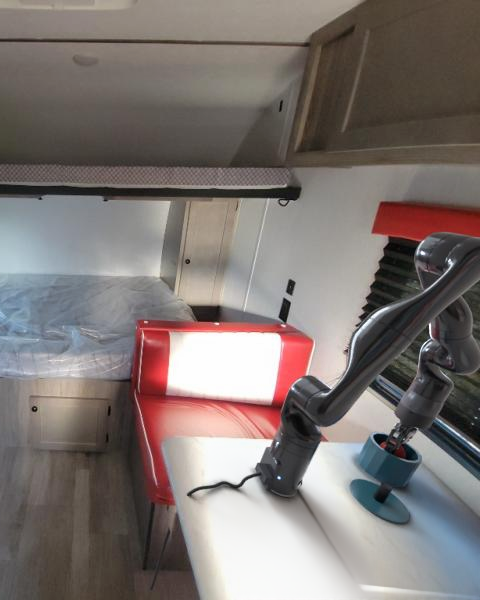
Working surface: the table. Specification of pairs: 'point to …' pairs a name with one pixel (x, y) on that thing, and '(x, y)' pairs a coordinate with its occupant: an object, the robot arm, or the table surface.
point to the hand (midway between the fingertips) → (391, 452)
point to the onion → (398, 453)
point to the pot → (388, 461)
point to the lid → (379, 500)
